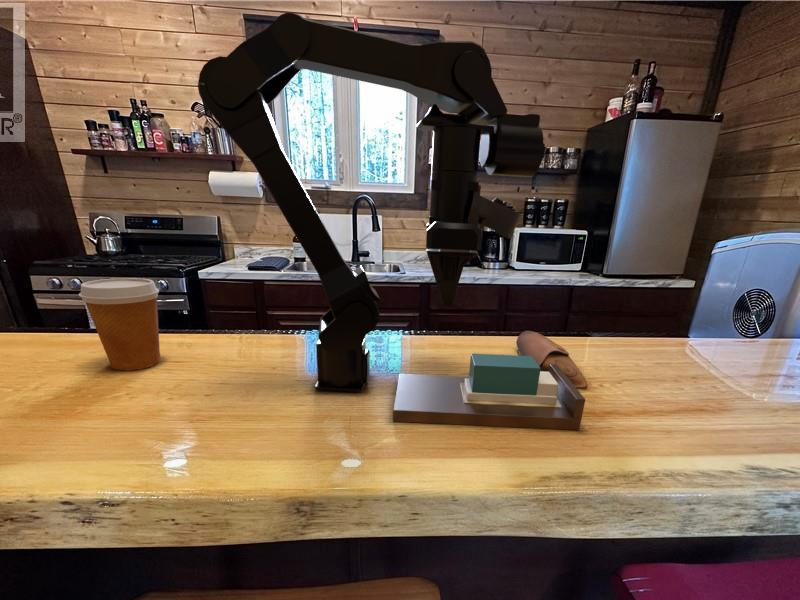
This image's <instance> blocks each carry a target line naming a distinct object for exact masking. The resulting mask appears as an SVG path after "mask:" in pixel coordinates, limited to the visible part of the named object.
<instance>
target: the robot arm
mask: <svg viewBox="0 0 800 600" xmlns="http://www.w3.org/2000/svg"><path fill="white" fill-rule="evenodd" d="M486 52H487V51H486V49H485V48H484V47H483V46H482V45H480V44H479V43H478V42H475V41H471V40H437V41H431V42H430V41H429V42H425V43H409V42H405V41H401V40H398V39H393V38H388V37H384V36H381V35H376V34H373V33H367V32H363V31H360V30H355V29H351V28H347V27H342V26H338V25H335V24H331V23H326V22H322V21H317V20H313V19H309V18H305V17H303V16H302V15H300V14H298V13H296V12H290V11H289V12H284V13H282V14H280V15H279V16H278V17H277V18H276V19H274V21H273V22H272V23H270V24H269V26H268V27H266V28H265V29H263V30H261V31H260V32H258V33H256V34H255V35H252V36H251V37H249V38H247V39H246V40H244V41H242V42H241V43H240V44H238V45H237V46H236V47H235V48H234V49H233V50H231V52H229V54H228V55H226V56H222V55H221V56H220V55H219V56H217V57H213V58H210V59H209V60H208V61H206V62H205V64H204V65H203V66H202V68H201V70H200V71H199V76H198V81H197V82H198V83H197V91H198V94H199V97H200V99H201V102H202V104H203V106H205V108H206V110H208V112H209V113H210V114H211V115H212V116H213V118H214V119H215V121H217V123H218V124H219V125H220V126H221V128H222V129H223V130H224V131H225V133H226V134H227V135H228V136H229V137H230V138H231V140H232V141H233V142H234V143H235V145H237V147H238V148H239V149H240V150H241V151H242V153H243V154H244V155H245V156H246V158H248V159H249V161H250V162H251V163H252V164H253V166H254V168H255V169H256V171H257V173H258V175H259V177H260V178H261V180H262V182H263V183H264V185H265V186H266V188H267V190H268V191H269V193H270V195H271V197H272V198H273V200H274V202H275V203H276V205H277V206H278V208H279V210H280V212H281V214H282V215H283V217H284V219H285V220H286V222H287V224H288V226H289V227H290V229H291V230H292V232H293V234H294V235H295V238H296V239H297V241H298V242H299V244H300V246H301V247H302V249H303V251H304V253H305V254H306V256H307V258H308V260H309V261H310V263H311V265H312V266H313V268H314V269H315V272H316V273H317V276H318V278H319V280H320V283H321V286H322V289H323V292H324V295H325V298H326V301H327V304H328V306H329V309H328V310H327V312H325V314H323V315H322V316H321V317H320V318H319V322H318V323H319V324H318V337H317V338H318V340H317V341H316V342H315V348H316V368H317V369H316V370H317V381H316V383H315V385H314V390H315V391H328V392H329V391H330V392H331V391H333V392H353V393H362V392H363V391H364V388H365V385H366V384H368V382H369V379H370V377H371V374H370V373H371V372H370V371H371V370H370V369H371V368H370V366H371V358H370V357H371V355H370V353H371V351H370V350H369V349H367V348H366V347H367V345H366V344H367V343H366V342H367V341H366V336H367V335H368V334H370V333H371V332H372V331H374V329H375V328H376V327H377V325H378V323H379V319H380V315H381V314H380V310H379V306H378V304H377V302H380V301H381V298H380V296H379V293H378V292H377V291H376V289H375V288H374V287H373V286H372V285H371V284H370V282H369V279H368V276H367V273H366V271H365V269H364V267H363V265H362V264H361V265H359V266H358V267H356V268H355V269H353V268H352V267H351V266H350V265H349V263H348V262H347V261H346V260H345V258H344V257H343V255H342V254H341V252H340V251H339V249H338V247H337V245H336V243H335V241H334V240H333V238H332V235H331V234H330V232H329V231H328V228H327V227H326V225H325V223H324V222H323V220H322V217H321V216H320V214H319V213H318V211H317V209H316V207H315V205H314V203H313V202H312V200H311V198H310V196H309V195H308V193H307V190H306V189H305V187H304V186H303V184H302V182H301V180H300V178H299V176H298V175H297V172H296V171H295V169H294V167H293V165H292V164H291V162H290V160H289V158H288V156H287V155H286V153H285V151H284V147H283V145H282V143H281V139H280V136H279V133H278V130H277V127H276V124H275V121H274V119H273V116H272V113H271V110H270V108H269V105H271V103H272V102H274V101H275V100H276V99H277V98H278V97H279V96H280V94H281V93H282V92H283V91H284V90H285V89H286V87H287V86H288V85H289V84H290V83H291V82H292V81H293V79H294V78H295V77H296V76H297V75H298V74H299V73H300V72H301V71H303V70H309V71H312V72H317V73H322V74H327V75H330V76H331V75H332V76H335V77H341V78H345V79H349V80H354V81H360V82H363V83H369V84H374V85H378V86H383V87H387V88H391V89H395V90H400V91H403V92H406V93H408V94H410V95H412V96H414V97H415V98H416V99H418V100H420V101H421V102H423V103H424V104H427V105H429V106H430V107H429V109H428V110H427V112H426V114H425V116H424V117H422V118H421V120H419V122H418V123H416V128H417V130H419V131H429V132H432V150H431V151H432V152H431V172H430V173H431V175H430V191H429V193H430V194H429V195H430V196H429V210H428V211H429V214H428V223H427V224H426V240H425V241H426V242H425V248H426V255H427V258H428V261H429V264H430V268H431V271H432V275H433V277H434V280H435V283H436V286H437V290H438V294H439V296H440V299H441V300H440V301H441V303H442V306H443V307H449V308H450V307H452V306H453V303H454V301H455V296H456V294H457V290H458V286H459V283H460V279H461V276H462V273H463V270H464V267H465V266H466V265H467V264H468V263H470V262H471V261H472V260H473V259H474V258H476V257H477V256H478V255H479V252H478V251H481V250H482V243H483V232H482V231H481V229H480V227H479V225H481V226H483V227H485V228H488V229H490V230H492V231H494V233H495V234H497V235H499V236H501V237H504V238H506V239H511V237H512V235H513V233H514V230H515V229H516V227H517V224H518V222H519V220H520V218H521V216H522V214H521V213H519V212H517V211H515V210H513V209H511V208H508V204H507V201H506V200H502V199H500V198H499V197H495V198H493V199H492V200H491V199H489V198H487V197H484V196H482V195H481V188H482V185H481V184H479V181H478V171H479V164H480V167H481V168H485V172H486V173H487V175H489V176H504V177H520V178H533V177H534V176H535V175H536V174H537V173H538V171H539V169H540V168H541V165H542V162H543V158H544V154H545V147H546V143H544V134H543V133H544V132H543V129H542V127H541V126H540V121H541V116H540V114H536V113H528V114H517V113H516V114H515V113H508V108H507V106H506V103H505V102H504V99H503V98H502V95H501V94H500V92H499V89H498V88H497V86H496V83H495V81H494V79H493V77H492V75H493V74H492V71H493V70H492V65H491V60H490V58H489V56H488V54H487V53H486Z"/></svg>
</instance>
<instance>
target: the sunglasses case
mask: <svg viewBox="0 0 800 600" xmlns="http://www.w3.org/2000/svg"><path fill="white" fill-rule="evenodd" d="M515 344H516V347H517V349H518V350H519V352H520V353H521V356H532V357H533V358H534V360H535V361H536V362H537V364H538V365H539V367H540V368H541V370H540V371H543V372H548V371H549V365H550V364H557V365H558V367H559V368H560V369H561V370H562V371H563V373H564V374H565V375H566V376H567V377H568V379H569V380H570V381H571V382H572V384H573V385H574V386H575V387H576V388H577V389H582V388H588V382H587V380H586V378H585V376H584V375H583V373H582V372H581V370H580V368H579V367H578V365H576V363H575V362H574V361H573V360H572V358H571V357H570V353H569V352H568V351H567V349H566V348H564V347H562V345H560V344H558V343H556V342H555V341H553V340H552V339H551V338H549V337H548V336H547V337H546V336H545V335H543V334H540V333H538V332H536V331H532V330H524V331H522V333H520V334H519V335H518V336H517V338H516V343H515Z"/></svg>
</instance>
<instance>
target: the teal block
mask: <svg viewBox="0 0 800 600" xmlns="http://www.w3.org/2000/svg"><path fill="white" fill-rule="evenodd" d="M469 362H470V363H469V370H468V377H469V379H467V378H465V381H464V386H465V391H466V396H467V400H476V401H498V402H519V403H541V404H556V400H557V397H556V395H557V389H558V383H557V382H556V380H555V379H554V378H553V376H552V375H551V374H550V372H543V371H540V370H541V368H540V367H539V365H538V364H537V362H536V361H535V360H534V358H533V357H532V356H523V355H517V354H516V355H513V354H493V353H492V354H491V353H470V360H469Z"/></svg>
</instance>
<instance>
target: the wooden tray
mask: <svg viewBox="0 0 800 600" xmlns="http://www.w3.org/2000/svg"><path fill="white" fill-rule="evenodd" d="M548 372H550V374H551V375H552V376H553V378H554V379H555V380H556V382H557V383H558V389H557V395H556V397H557V400H556V404H541V403H519V402H498V401H476V400H467V396H466V391H465V386H464V381H465V378H467V379H469V376H459V375H458V376H457V375H440V374H439V375H438V374H437V375H436V374H420V373H419V374H416V373H415V374H414V373H399V374H398V379H397V386H396V392H395V397H394V403H393V409H392V422H400V423H420V424H421V423H423V424H425V423H426V424H441V425H442V424H444V425H465V426H488V427H507V428H528V429H547V430H571V431H579V430H580V427H581V423H582V418H583V414H584V408H585V404H586V398H585V397H584V396H583V394H582V393H581V391H579V390H578V388H576V387H575V386H574V385H573V384H572V382H571V381H570V380H569V379H568V377H567V376H566V375H565V374H564V373H563V371H562V370H561V369H560V368H559V367H558V365H557V364H550V365H549V371H548Z"/></svg>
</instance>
